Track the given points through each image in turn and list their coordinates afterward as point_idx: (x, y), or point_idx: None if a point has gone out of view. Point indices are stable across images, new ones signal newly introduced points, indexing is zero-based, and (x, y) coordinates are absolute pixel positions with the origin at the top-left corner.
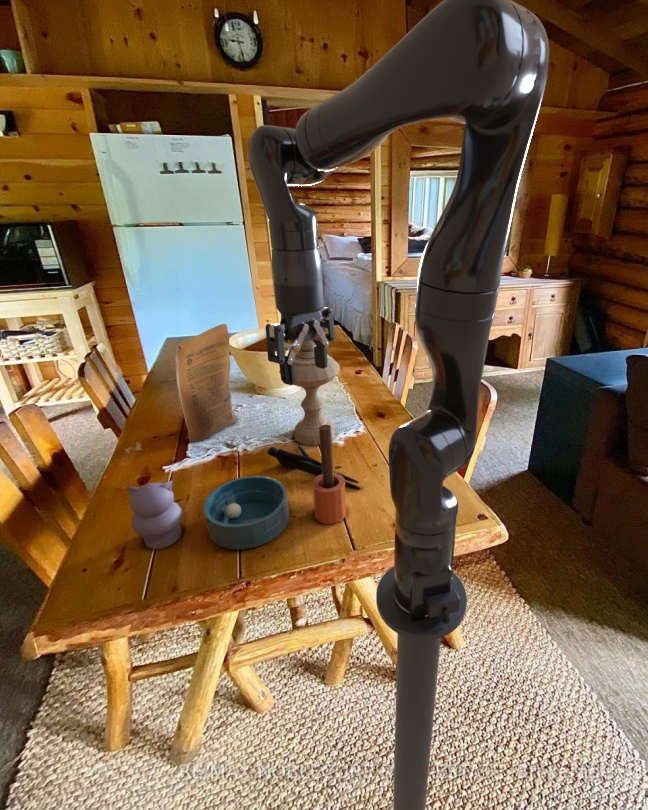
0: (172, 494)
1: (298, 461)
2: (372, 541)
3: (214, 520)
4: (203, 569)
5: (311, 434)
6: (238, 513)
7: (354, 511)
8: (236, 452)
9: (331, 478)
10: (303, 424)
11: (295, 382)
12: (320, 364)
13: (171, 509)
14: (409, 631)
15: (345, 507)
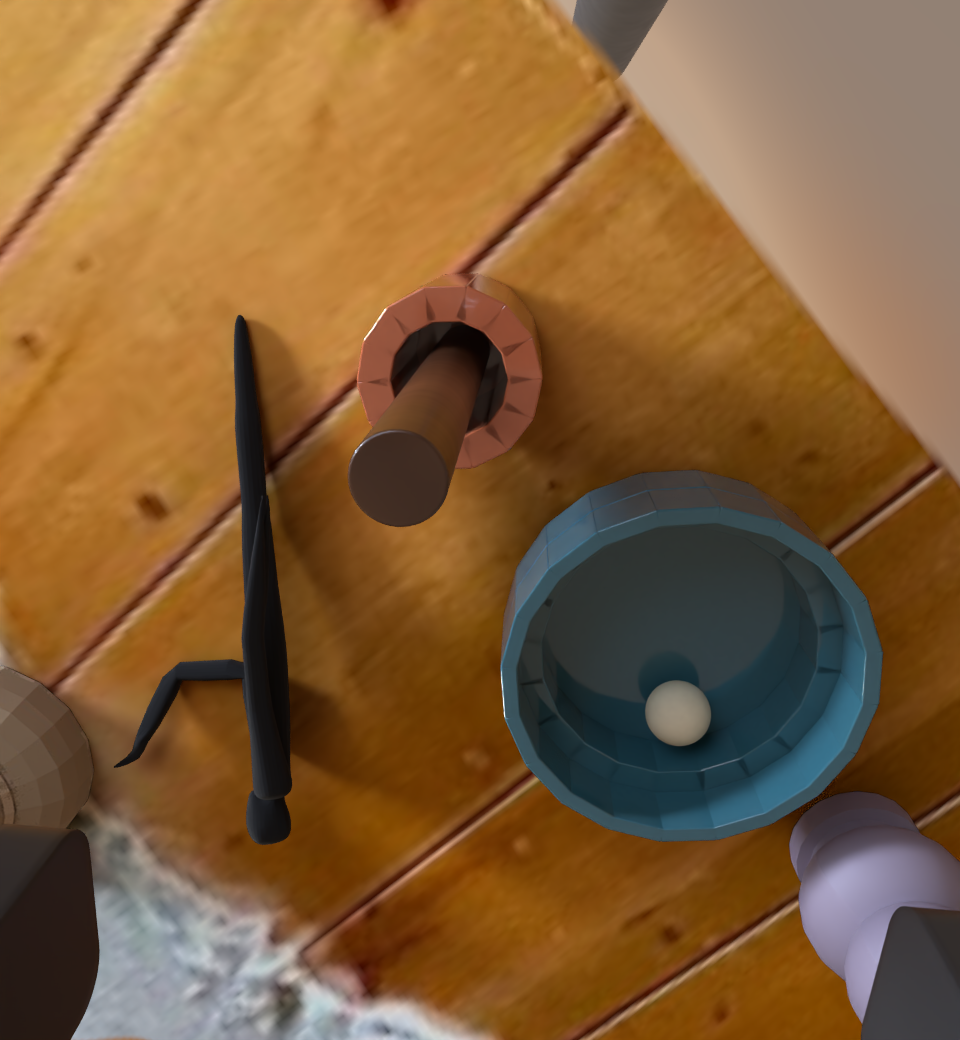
0: None
1: (272, 672)
2: (544, 53)
3: (864, 709)
4: (944, 612)
5: (35, 753)
6: (683, 685)
7: (399, 251)
8: (310, 955)
9: (455, 357)
10: None
11: (910, 912)
12: (58, 942)
13: (886, 894)
14: None
15: (439, 277)
